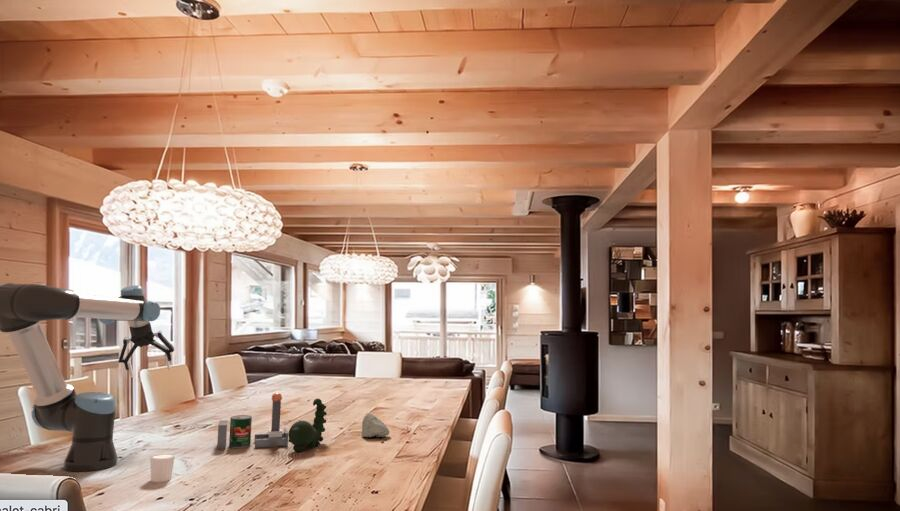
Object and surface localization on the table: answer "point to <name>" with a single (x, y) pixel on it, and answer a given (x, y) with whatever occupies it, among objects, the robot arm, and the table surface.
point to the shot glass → (161, 467)
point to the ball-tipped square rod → (275, 417)
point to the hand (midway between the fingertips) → (151, 372)
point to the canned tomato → (240, 431)
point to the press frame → (260, 439)
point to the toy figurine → (308, 430)
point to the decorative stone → (373, 427)
